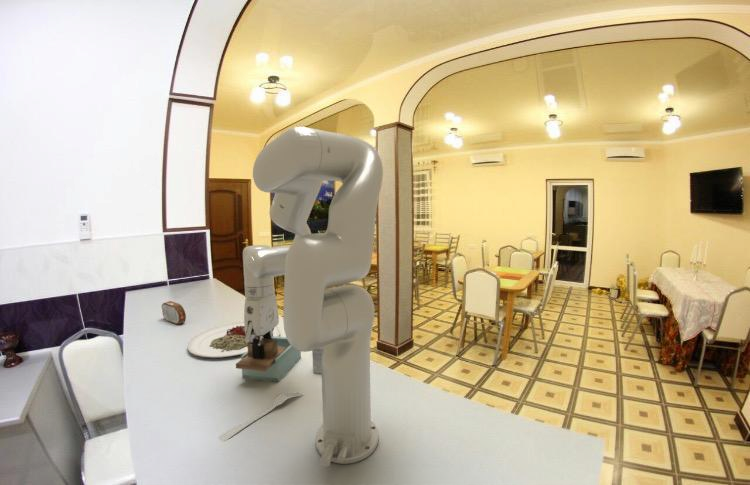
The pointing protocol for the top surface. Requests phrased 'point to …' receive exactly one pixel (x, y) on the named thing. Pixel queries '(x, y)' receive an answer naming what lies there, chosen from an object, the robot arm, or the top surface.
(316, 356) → the medicine box
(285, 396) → the fork
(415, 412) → the top surface
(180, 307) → the tin
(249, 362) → the cover plate
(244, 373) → the slide box
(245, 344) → the plated food
